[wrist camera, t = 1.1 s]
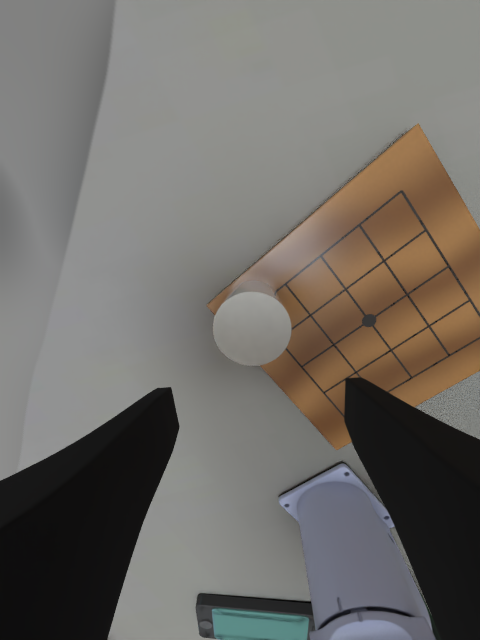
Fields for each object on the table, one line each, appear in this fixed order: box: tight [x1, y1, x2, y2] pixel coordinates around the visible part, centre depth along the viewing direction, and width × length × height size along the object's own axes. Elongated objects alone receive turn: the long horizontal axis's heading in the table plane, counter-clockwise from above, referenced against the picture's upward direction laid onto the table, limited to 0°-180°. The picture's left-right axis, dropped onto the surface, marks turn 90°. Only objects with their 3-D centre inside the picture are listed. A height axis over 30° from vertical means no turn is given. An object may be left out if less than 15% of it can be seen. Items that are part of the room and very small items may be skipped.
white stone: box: [213, 280, 292, 366], centre depth 15 cm, size 4×4×5 cm
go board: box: [206, 124, 480, 450], centre depth 18 cm, size 17×17×1 cm
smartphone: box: [196, 594, 316, 640], centre depth 30 cm, size 7×1×15 cm
